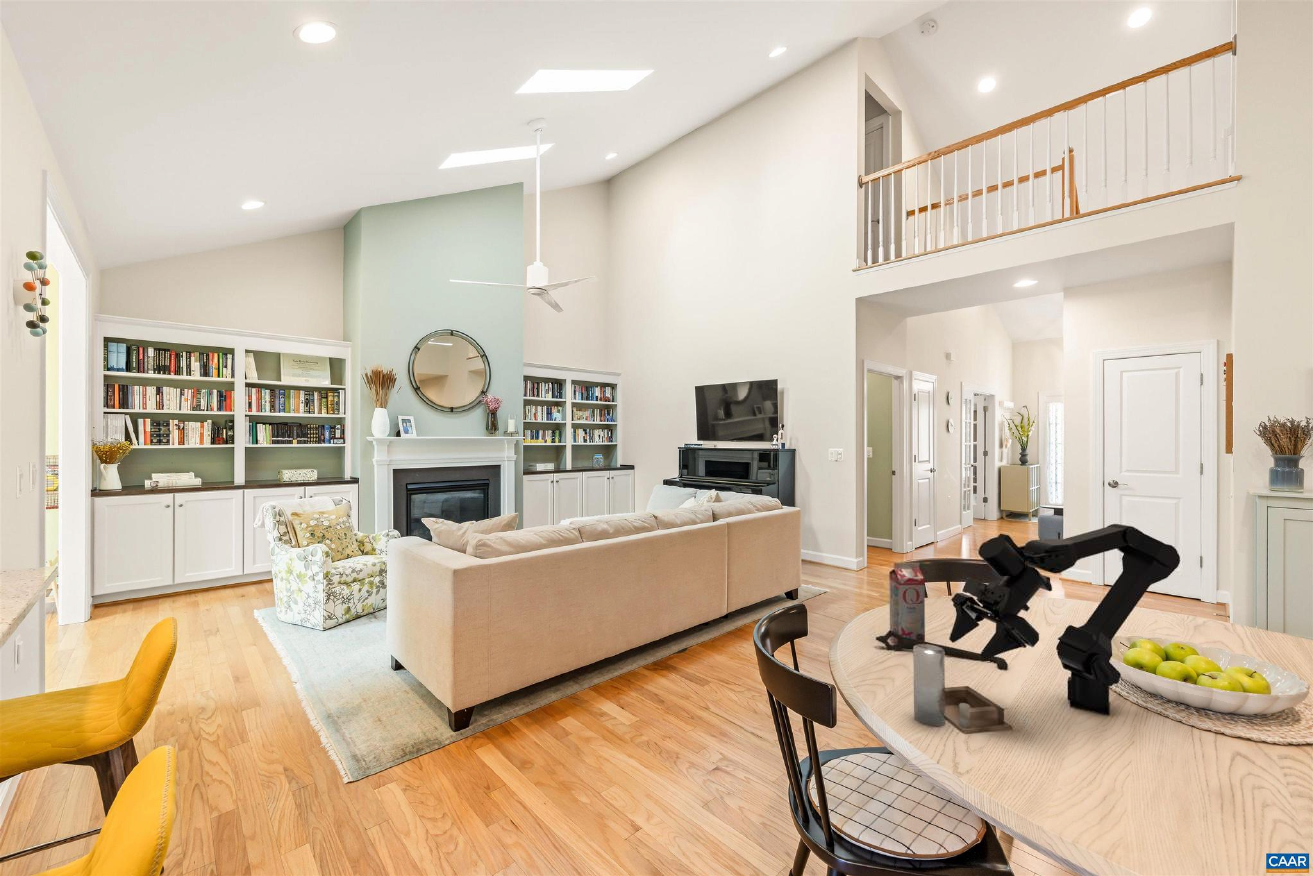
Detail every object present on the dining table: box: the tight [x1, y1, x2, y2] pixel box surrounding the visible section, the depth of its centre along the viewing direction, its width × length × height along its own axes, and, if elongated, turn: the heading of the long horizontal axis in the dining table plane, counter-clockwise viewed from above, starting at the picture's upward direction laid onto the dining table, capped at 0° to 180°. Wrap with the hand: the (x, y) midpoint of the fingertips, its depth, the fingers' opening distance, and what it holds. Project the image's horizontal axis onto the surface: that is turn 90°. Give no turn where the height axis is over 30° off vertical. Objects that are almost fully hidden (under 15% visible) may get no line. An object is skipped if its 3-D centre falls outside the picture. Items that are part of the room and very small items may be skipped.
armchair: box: [945, 685, 1013, 735], centre depth 116 cm, size 10×12×5 cm
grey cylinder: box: [912, 644, 946, 728], centre depth 115 cm, size 6×6×14 cm
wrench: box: [875, 629, 1009, 671], centre depth 146 cm, size 5×5×30 cm
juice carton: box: [888, 562, 926, 645], centre depth 156 cm, size 7×7×22 cm
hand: (965, 649), depth 116 cm, fingers open, 9 cm apart
